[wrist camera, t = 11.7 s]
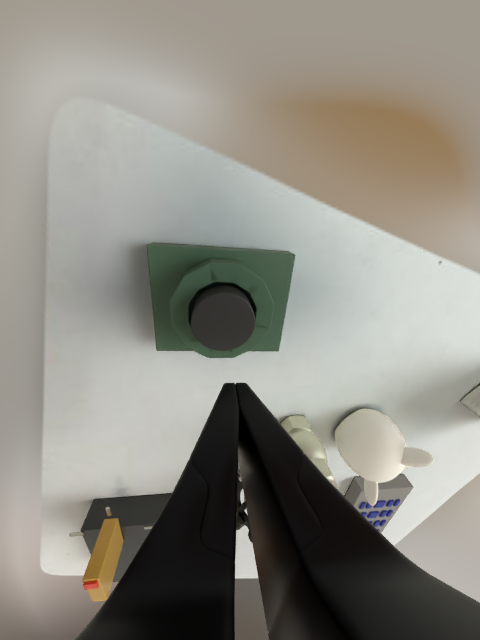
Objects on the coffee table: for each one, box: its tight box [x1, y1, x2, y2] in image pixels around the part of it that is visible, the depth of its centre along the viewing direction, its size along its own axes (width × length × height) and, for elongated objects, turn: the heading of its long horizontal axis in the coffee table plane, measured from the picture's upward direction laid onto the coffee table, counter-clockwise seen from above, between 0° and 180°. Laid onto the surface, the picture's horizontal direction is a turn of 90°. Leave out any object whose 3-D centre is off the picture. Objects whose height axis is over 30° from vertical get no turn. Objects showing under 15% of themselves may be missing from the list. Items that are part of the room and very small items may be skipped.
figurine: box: [335, 409, 434, 506], centre depth 24 cm, size 8×6×7 cm
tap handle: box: [83, 518, 124, 602], centre depth 23 cm, size 5×1×5 cm, turn 175°
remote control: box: [345, 474, 413, 533], centre depth 36 cm, size 8×23×2 cm, turn 174°
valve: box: [236, 415, 337, 543], centre depth 24 cm, size 7×7×12 cm
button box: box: [147, 242, 295, 358], centre depth 16 cm, size 10×8×4 cm
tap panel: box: [69, 494, 172, 582], centre depth 29 cm, size 15×18×3 cm
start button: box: [191, 285, 255, 351], centre depth 14 cm, size 4×4×2 cm
